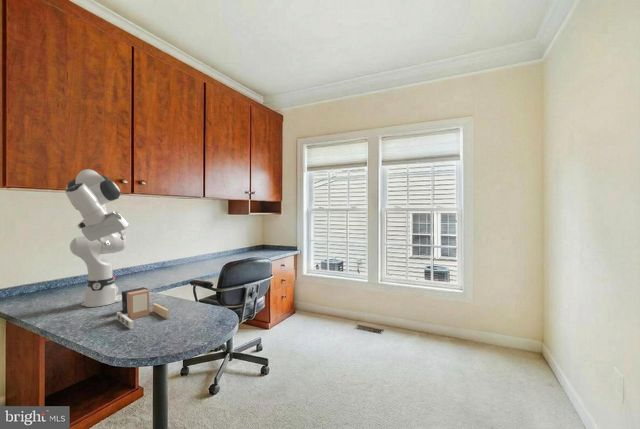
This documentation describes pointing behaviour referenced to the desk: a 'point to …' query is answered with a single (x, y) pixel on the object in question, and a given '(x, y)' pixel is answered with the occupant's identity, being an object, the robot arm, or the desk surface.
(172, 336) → the desk surface
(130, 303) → the carton
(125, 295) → the small box
